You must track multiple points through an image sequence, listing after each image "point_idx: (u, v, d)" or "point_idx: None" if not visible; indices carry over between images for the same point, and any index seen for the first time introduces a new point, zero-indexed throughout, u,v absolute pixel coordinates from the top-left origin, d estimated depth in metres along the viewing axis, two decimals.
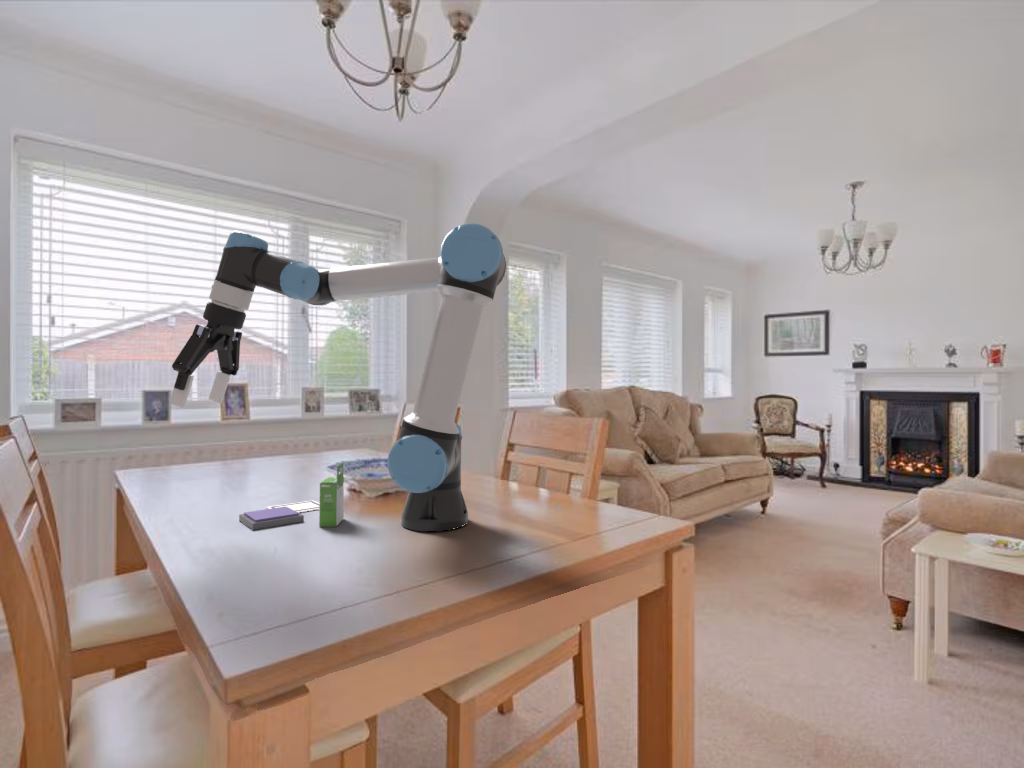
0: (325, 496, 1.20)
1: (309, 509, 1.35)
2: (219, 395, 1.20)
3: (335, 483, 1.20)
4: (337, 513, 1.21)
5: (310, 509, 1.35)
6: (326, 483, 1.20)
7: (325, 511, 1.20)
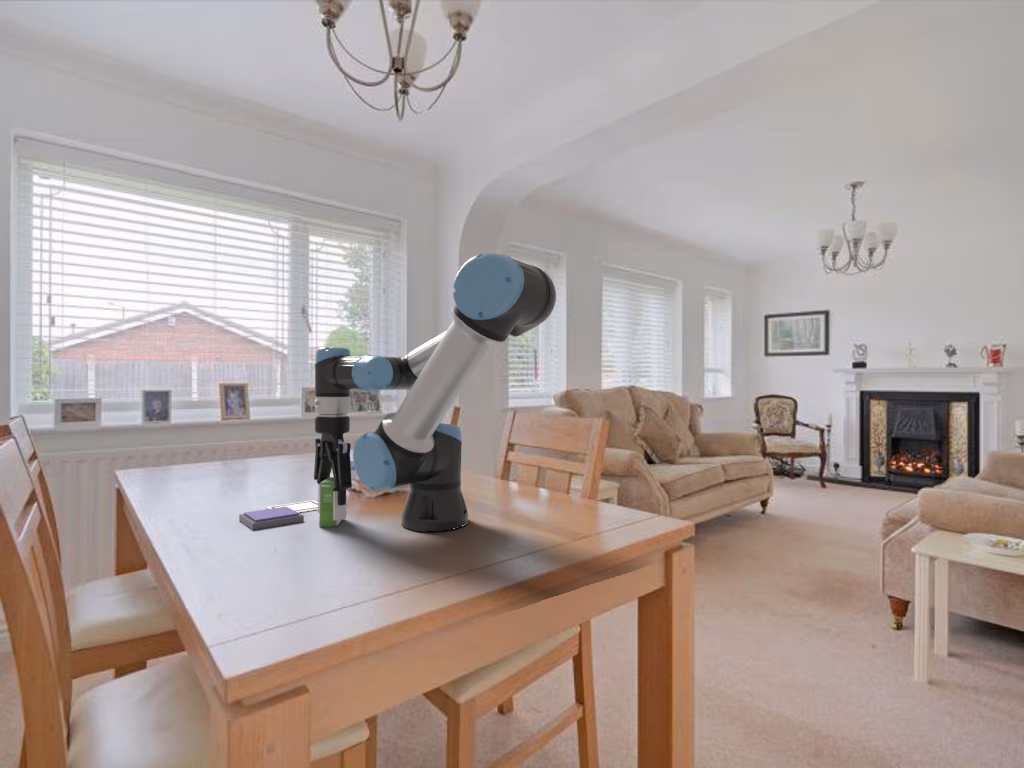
0: (325, 496, 1.20)
1: (309, 509, 1.35)
2: None
3: None
4: None
5: (310, 509, 1.35)
6: (326, 483, 1.20)
7: (325, 511, 1.20)
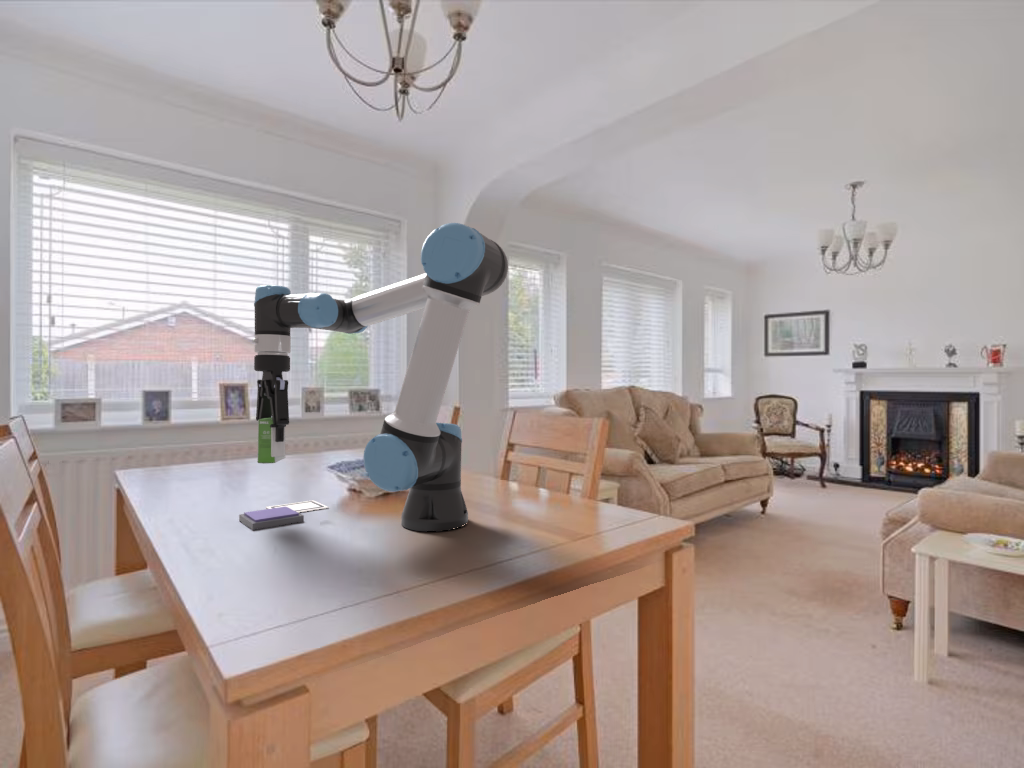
0: (264, 433, 1.21)
1: (309, 509, 1.35)
2: None
3: None
4: None
5: (310, 509, 1.35)
6: (264, 420, 1.21)
7: (263, 447, 1.21)
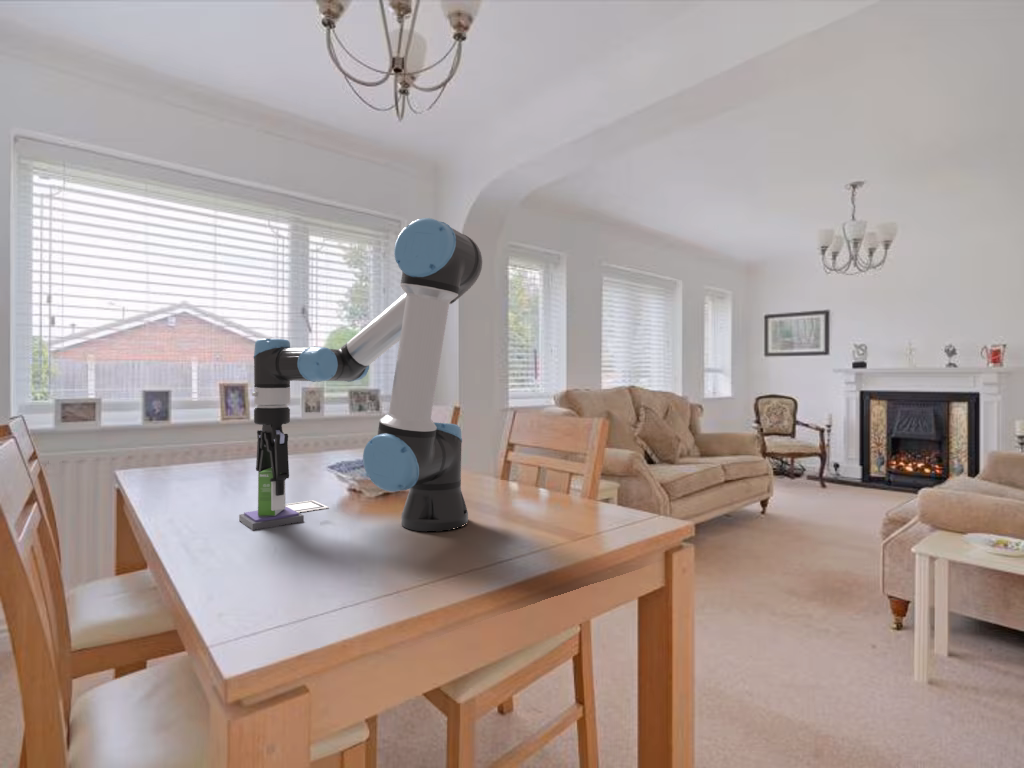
0: (264, 486, 1.21)
1: (309, 509, 1.35)
2: None
3: None
4: None
5: (310, 509, 1.35)
6: (264, 473, 1.21)
7: (264, 500, 1.21)
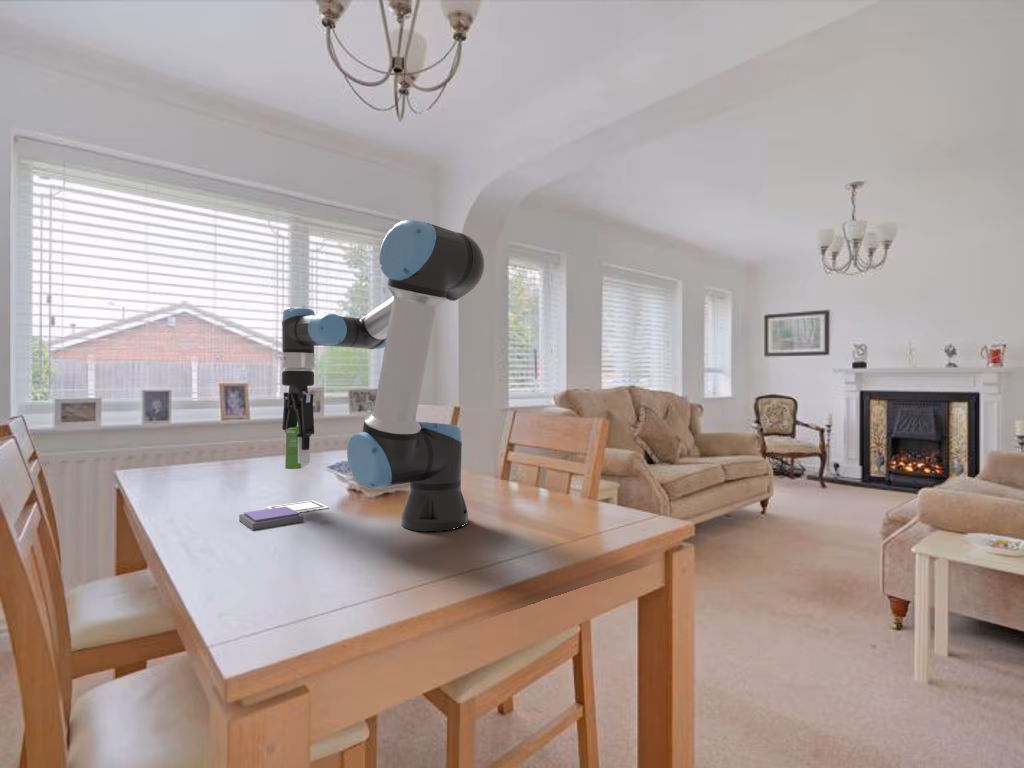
0: (291, 441, 1.33)
1: (309, 509, 1.35)
2: None
3: None
4: None
5: (310, 509, 1.35)
6: (291, 429, 1.33)
7: (291, 454, 1.33)
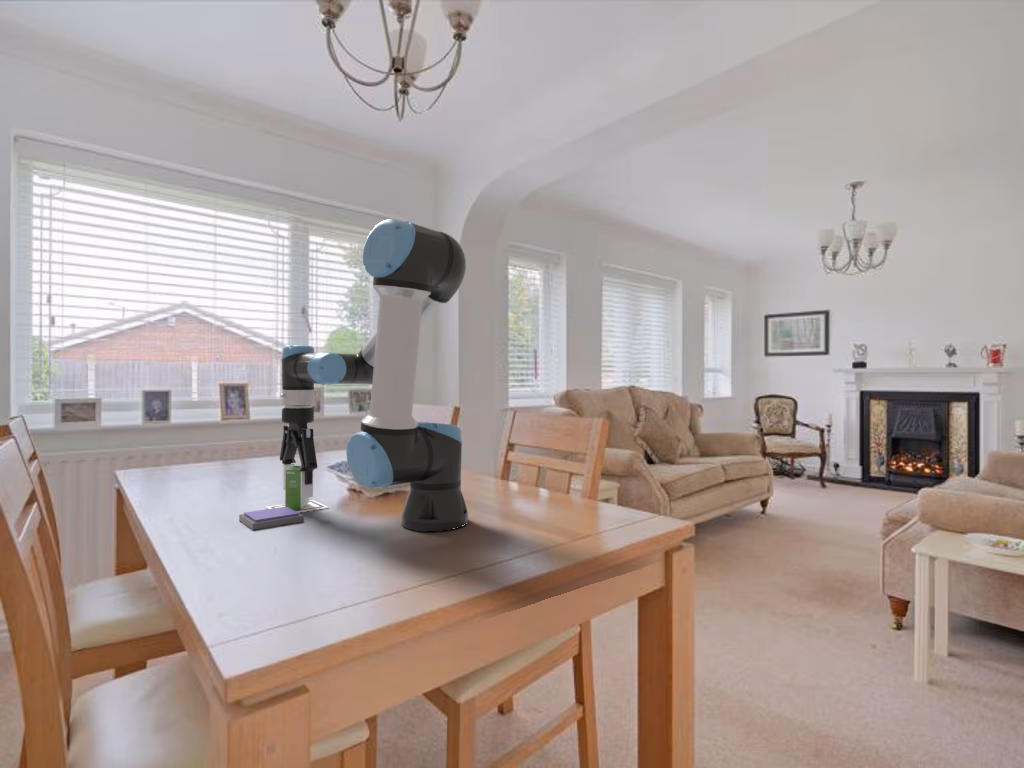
0: (290, 482, 1.33)
1: (309, 509, 1.35)
2: None
3: (299, 470, 1.34)
4: None
5: (310, 509, 1.35)
6: (291, 470, 1.33)
7: (290, 495, 1.33)
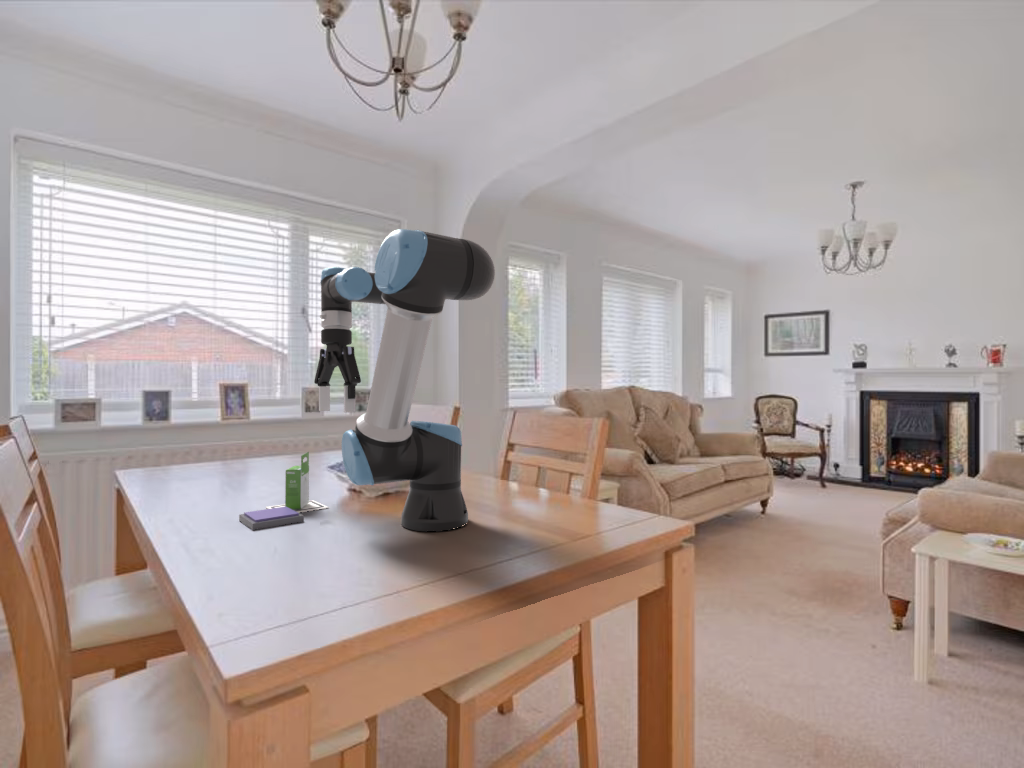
0: (290, 482, 1.33)
1: (309, 509, 1.35)
2: (327, 405, 1.45)
3: (299, 470, 1.34)
4: (302, 497, 1.35)
5: (310, 509, 1.35)
6: (291, 470, 1.33)
7: (290, 495, 1.33)
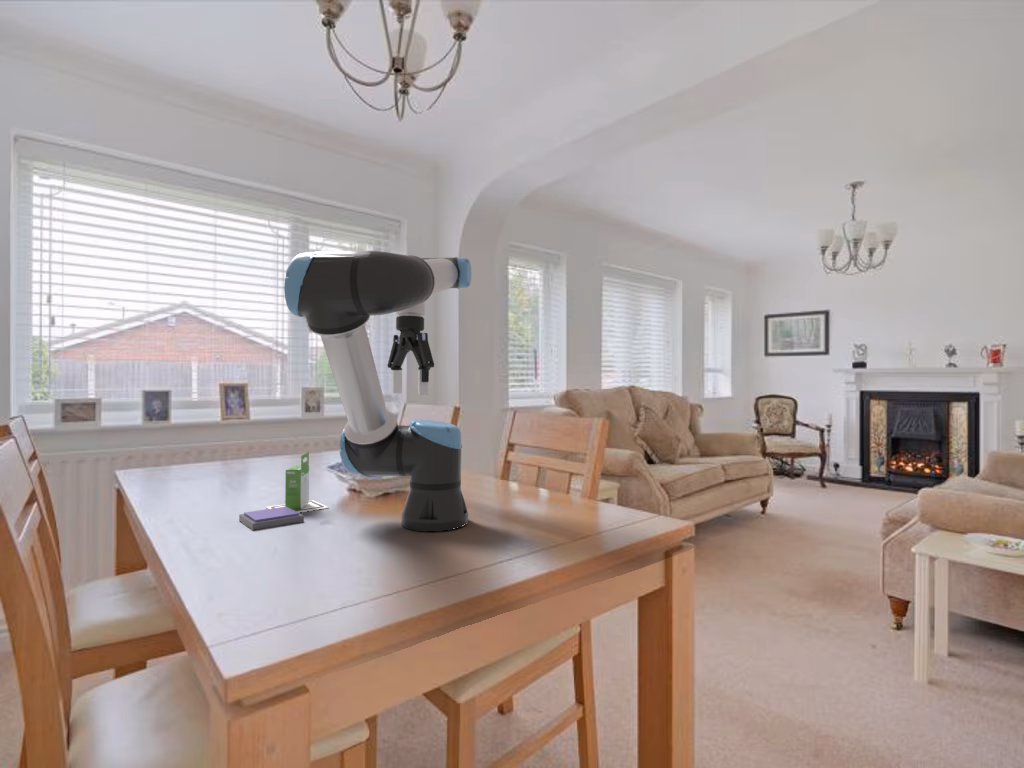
0: (290, 482, 1.33)
1: (309, 509, 1.35)
2: (399, 387, 1.53)
3: (299, 470, 1.34)
4: (302, 497, 1.35)
5: (310, 509, 1.35)
6: (291, 470, 1.33)
7: (290, 495, 1.33)
